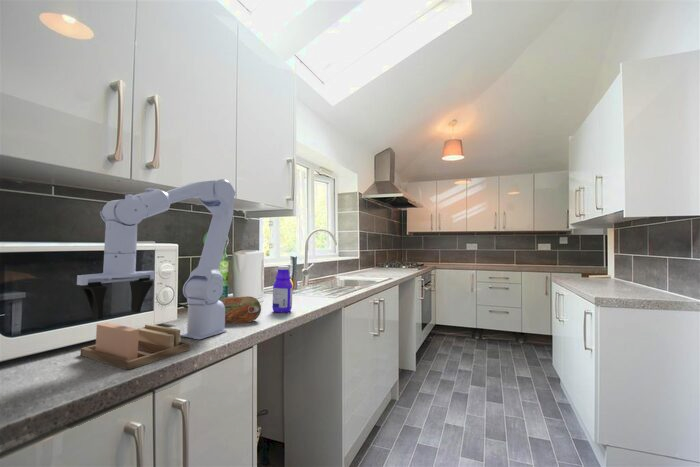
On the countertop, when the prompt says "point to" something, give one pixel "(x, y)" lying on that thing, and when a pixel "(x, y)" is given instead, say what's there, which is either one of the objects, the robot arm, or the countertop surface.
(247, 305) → the tin
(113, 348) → the block
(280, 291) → the bottle
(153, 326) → the offcuts
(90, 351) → the rack
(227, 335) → the countertop surface
